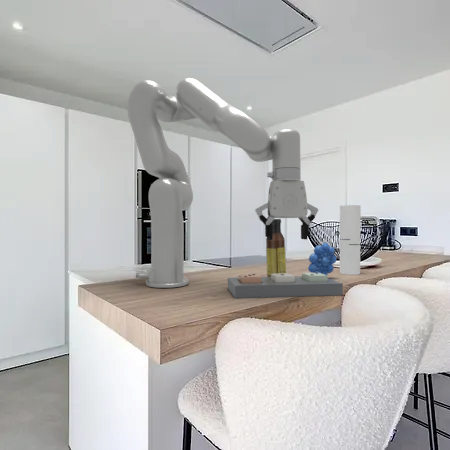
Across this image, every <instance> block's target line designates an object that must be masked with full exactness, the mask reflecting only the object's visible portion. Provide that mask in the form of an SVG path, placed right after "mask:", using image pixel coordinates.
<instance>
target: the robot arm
mask: <svg viewBox="0 0 450 450" xmlns="http://www.w3.org/2000/svg"><path fill="white" fill-rule="evenodd" d="M126 106H127V107H126V108H127V116H128V119H129V123H130V127H131V130H132V132H133V136H134V140H135V142H136V146H137V149H138V153H139V156H140V159H141V163H142V165H143V168H144V170H145V171H146V172H147V173H148V175H151V176H154V177H156V178H158V179H156V180H155V181H154V182H152V183H151V184H150V187H149V190H148V205H149V211H150V229H151V230H150V231H151V237H150V238H151V241H150V242H151V243H150V244H151V245H150V250H151V252H150V254H151V256H150V257H151V259H150V261H151V263H150V265H151V266H150V269H147V271H143V270H138V271H135V278H136V279H146V280H145V285H146V286H147V287H149V288H156V289H157V288H159V289H160V288H161V289H165V288H167V289H170V288H179V287H184V286H187V285H188V284H189V282H190V281H189V280H190V279H188V278H186V277H184V272H185V271H184V263H185V262H184V261H185V259H184V255H185V254H184V251H185V249H184V248H185V247H184V246H185V245H184V241H185V238H184V237H185V234H184V233H185V232H184V229H185V228H184V227H185V226H184V216H183V211H186V210H187V209H188V208H189V207H190V206H191V205H192V203H193V200H194V194H193V189H192V186H191V183H190V179H189V175H188V173H187V170H186V167H185V164H184V162H183V159H182V158H181V156H180V155H179V154H178V153H176V151H173V150H172V149H171V148H169V146H168V144H167V141H166V139H165V136H164V132H163V129H162V126H161V124H160V123H159V121H161V122H162V123H174V122H175V123H176V122H181V121H189V120H196V119H198V120H199V121H201V122H202V123H203V124H205V125H206V126H207V127H208V128H210V130H213V131H214V132H215V131H216V132H219V133H221V134H223V135H224V136H225V137H227V138H228V139H229V140H230V141H232V142H233V143H234V144H236V145H237V146H238V147H239V148H240V149H242V150H243V151H244V152H245V154H247V156H248V157H249V159H250V160H252V161H253V162H257V163H258V162H260V163H262V162H267V161H271V160H272V161H271V162H272V165H271V166H272V170H271V171H270V172H267V178H270V179H271V180H272V181H270V183H269V187H268V195H267V202H266V203H265V204H262V205H261V206H259V207H256V208H255V210H254V211H255V214H256V215H257V217H258V219H259V220H260V222H262V223H263V225H264V227H265V228H264V231H265V232H264V234H265V238H267V240H272V225H271V222H272V221H273V220H274V219H298V220H299V221H300V222H301V225H300V238H301V240H308V237H309V236H310V229H309V228H310V224H311V223H312V222H313V221H314V220H315V219H316V216H317V214H318V212H319V209H318V208H317V207H315V206H314V205H312V204H311V203H308V199H307V198H308V197H307V192H306V186H305V181H304V180H301V179H302V178H301V173H302V172H301V135H300V133H299V132H298V130H296V129H292V128H291V129H290V128H288V129H287V128H286V129H279V130H277V131H275V132H274V133H273V134H272V135H270V134H269V133H268V131H267V130H266V129H265V128H264V127H263V126H262V125H260V124H259V123H258V122H256V121H255V120H254V119H253V118H251V117H250V116H249V115H248V114H246V113H245V112H244V111H242V110H240V109H238V108H237V107H235V106H233V105H232V104H230V103H228V101H226V100H224V98H222V97H220V96H219V95H218V94H217V93H216V92H214V91H212V90H211V89H210V88H209V87H207V86H206V85H205V84H203V83H202V82H201V81H199V80H197V79H196V78H192V77H185V78H183V79H181V80H180V81H179V82H178V83H177V85H176V89H175V95H171V94H170V93H169V92H168V91H167V90H166V89H165V88H164V87H163V86H162V85H161V84H159V83H158V82H156V81H154V80H150V79H144V80H140V81H138V82H137V83H136V84H135V85H134V86H133V88H132V89H131V91H130V94H129V96H128V99H127V105H126ZM158 120H159V121H158ZM264 210H267V217H266V216H264V214H263V211H264ZM308 211H310V213H309V215H308Z"/></svg>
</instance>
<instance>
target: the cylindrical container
mask: <svg viewBox="0 0 450 450" xmlns="http://www.w3.org/2000/svg"><path fill="white" fill-rule="evenodd" d="M361 211H362V209H361V205H357V204H356V205H354V204H353V205H351V204H349V205H347V204H346V205H339V274H342V275H348V276H354V275H355V276H357V275H361V219H362V218H361V214H362V213H361Z"/></svg>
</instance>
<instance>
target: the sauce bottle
mask: <svg viewBox="0 0 450 450" xmlns="http://www.w3.org/2000/svg"><path fill="white" fill-rule="evenodd" d="M281 224H282V218H274V220H273V221H272V222H271V225H272V240H267V237H265V244H266V247H265V251H266V252H265V253H266V277H271V274H274V273H287V266H286V265H287V261H286V260H287V259H286V258H287V257H286V242H285V237H284V235H283V233H282V230H281V228H282V227H281Z"/></svg>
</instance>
